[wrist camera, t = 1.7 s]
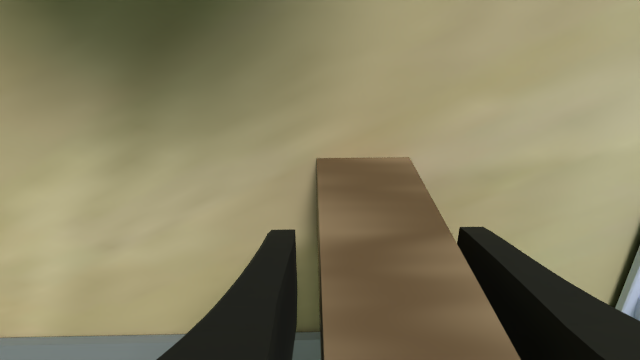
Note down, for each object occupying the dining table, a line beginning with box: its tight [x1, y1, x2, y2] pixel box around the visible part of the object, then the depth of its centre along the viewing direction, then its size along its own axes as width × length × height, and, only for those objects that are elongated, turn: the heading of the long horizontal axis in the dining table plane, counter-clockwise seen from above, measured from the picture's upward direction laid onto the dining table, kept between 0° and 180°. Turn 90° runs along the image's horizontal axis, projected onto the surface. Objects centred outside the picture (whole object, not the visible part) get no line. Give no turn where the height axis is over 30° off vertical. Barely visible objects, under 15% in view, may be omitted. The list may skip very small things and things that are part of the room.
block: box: [317, 157, 521, 360], centre depth 10 cm, size 3×3×9 cm
